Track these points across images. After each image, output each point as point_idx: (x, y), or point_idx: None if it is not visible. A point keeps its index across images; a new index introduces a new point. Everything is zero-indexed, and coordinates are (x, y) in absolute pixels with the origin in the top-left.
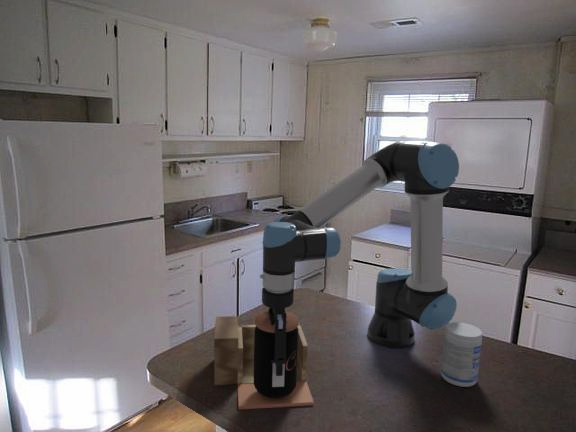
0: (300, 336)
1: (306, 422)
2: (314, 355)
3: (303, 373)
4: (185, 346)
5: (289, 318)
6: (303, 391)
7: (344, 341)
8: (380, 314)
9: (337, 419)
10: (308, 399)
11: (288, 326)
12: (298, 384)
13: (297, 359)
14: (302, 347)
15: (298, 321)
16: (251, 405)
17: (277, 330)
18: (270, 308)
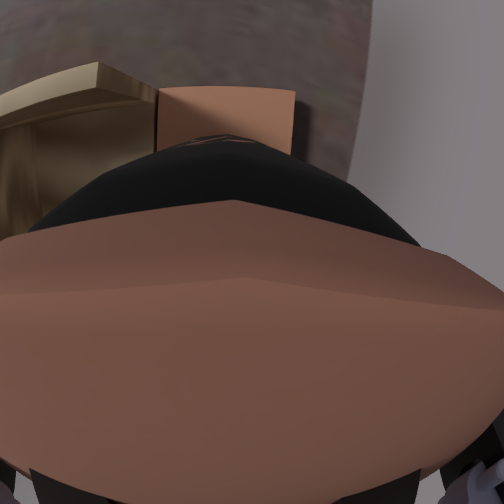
0: (13, 108)
1: (338, 130)
2: (28, 68)
3: (147, 95)
4: None
5: (180, 492)
6: (224, 107)
7: (3, 8)
8: None
9: (339, 50)
10: (277, 102)
11: (478, 431)
12: (176, 116)
13: (60, 115)
14: (87, 92)
15: (497, 313)
16: None
17: (478, 459)
18: (11, 480)
